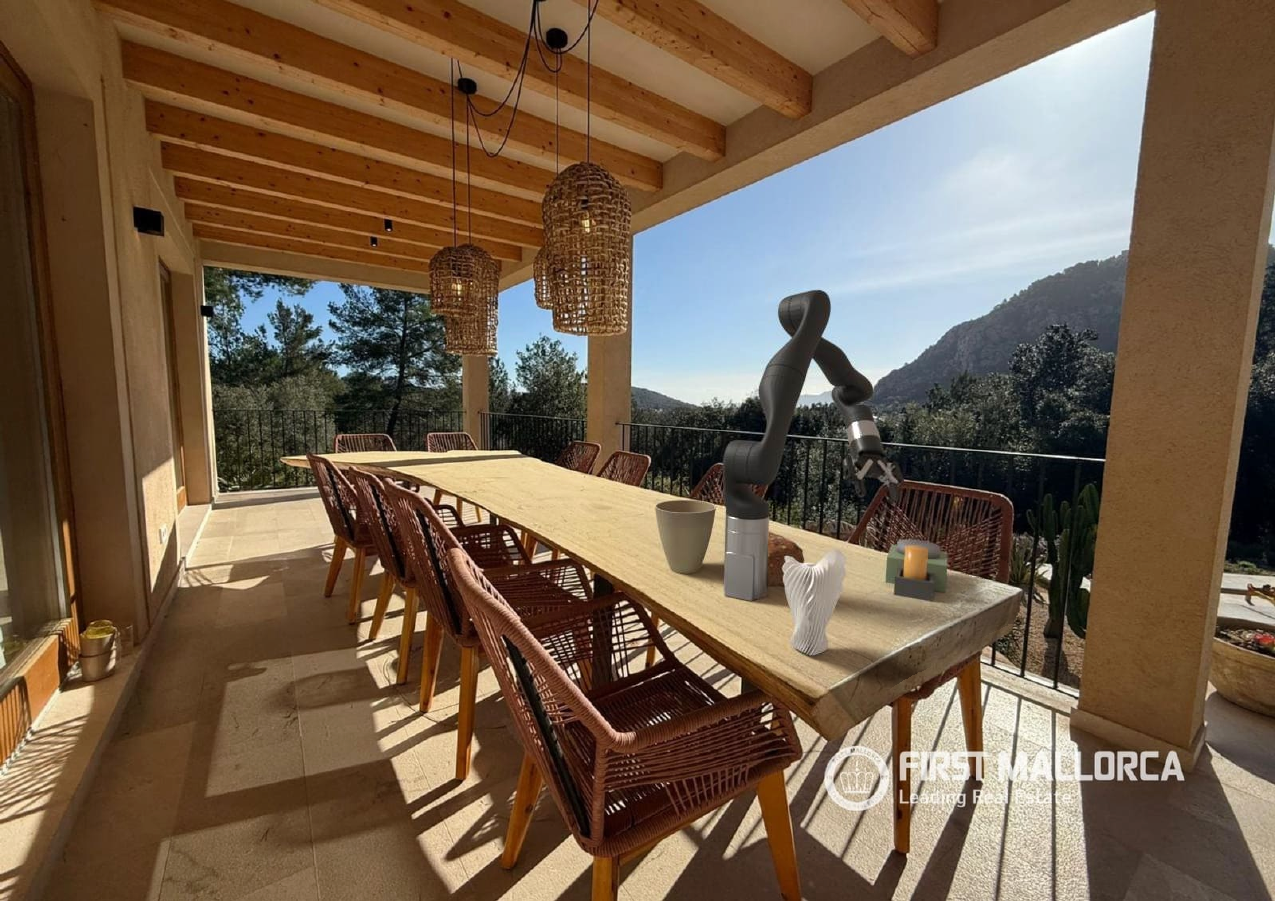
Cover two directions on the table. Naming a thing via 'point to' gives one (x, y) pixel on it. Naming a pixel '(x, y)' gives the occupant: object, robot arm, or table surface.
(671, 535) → the plant pot
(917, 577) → the amber pillar candle
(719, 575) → the table surface
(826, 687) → the table surface
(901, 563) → the green two-tone box
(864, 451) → the robot arm
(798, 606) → the white ribbed vase
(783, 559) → the bread
